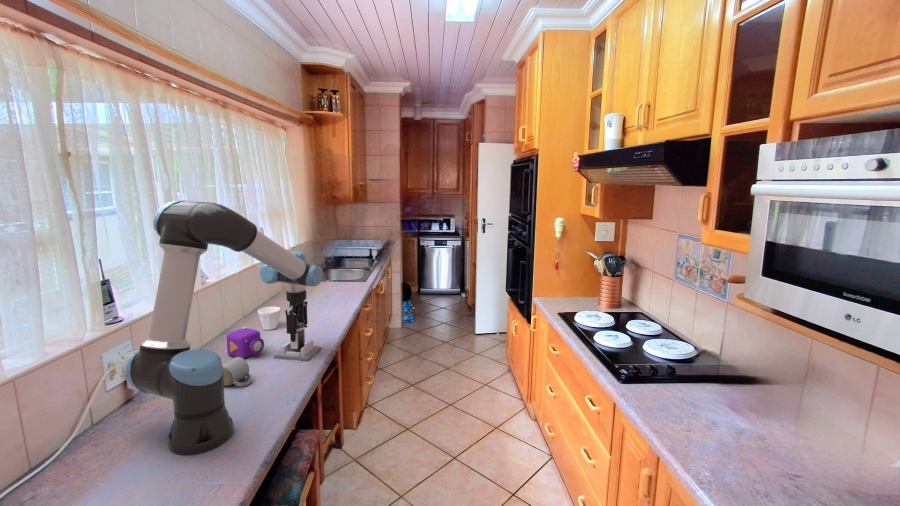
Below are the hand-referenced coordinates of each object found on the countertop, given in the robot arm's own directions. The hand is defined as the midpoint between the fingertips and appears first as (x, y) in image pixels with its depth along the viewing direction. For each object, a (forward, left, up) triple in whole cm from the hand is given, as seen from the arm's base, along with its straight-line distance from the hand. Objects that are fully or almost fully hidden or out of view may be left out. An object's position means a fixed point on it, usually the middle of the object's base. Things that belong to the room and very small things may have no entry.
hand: (298, 345), depth 165 cm
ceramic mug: (-26, +9, -4) cm, 28 cm away
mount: (0, 0, -3) cm, 3 cm away
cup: (+24, +27, -4) cm, 36 cm away
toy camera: (-5, +19, -4) cm, 20 cm away
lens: (0, 0, -1) cm, 1 cm away
